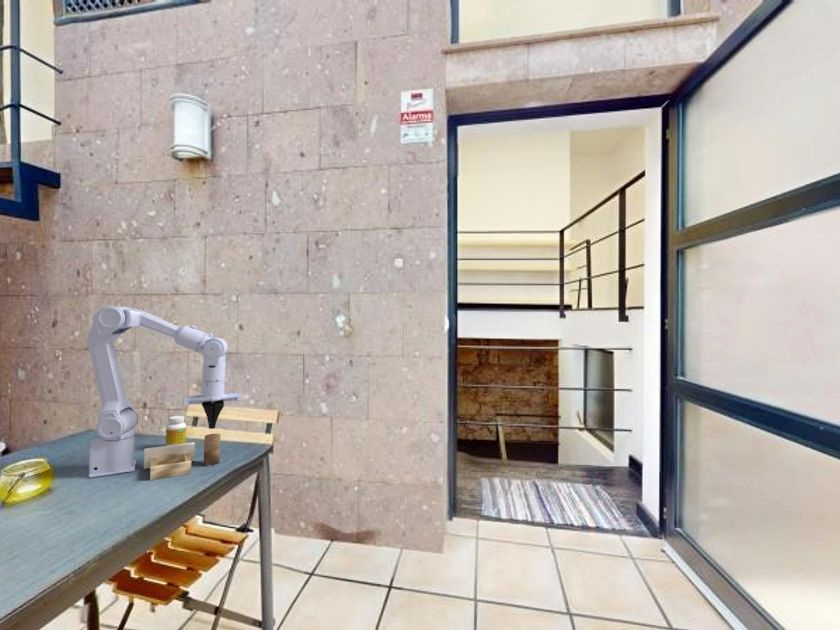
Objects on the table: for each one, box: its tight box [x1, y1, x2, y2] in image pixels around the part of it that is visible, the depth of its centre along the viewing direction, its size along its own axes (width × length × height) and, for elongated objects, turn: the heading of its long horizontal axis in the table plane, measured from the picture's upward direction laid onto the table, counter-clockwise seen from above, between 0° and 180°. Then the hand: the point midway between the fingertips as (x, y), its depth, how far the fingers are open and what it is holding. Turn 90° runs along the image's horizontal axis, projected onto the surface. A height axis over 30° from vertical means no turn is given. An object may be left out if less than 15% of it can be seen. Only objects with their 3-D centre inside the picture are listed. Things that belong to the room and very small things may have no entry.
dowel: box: [203, 433, 221, 466], centre depth 113 cm, size 4×4×8 cm
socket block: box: [149, 452, 192, 481], centre depth 107 cm, size 9×9×3 cm
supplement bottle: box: [165, 415, 187, 446], centre depth 124 cm, size 5×5×10 cm
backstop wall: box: [143, 441, 196, 470], centre depth 112 cm, size 12×2×5 cm, turn 124°
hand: (211, 427), depth 112 cm, fingers closed
